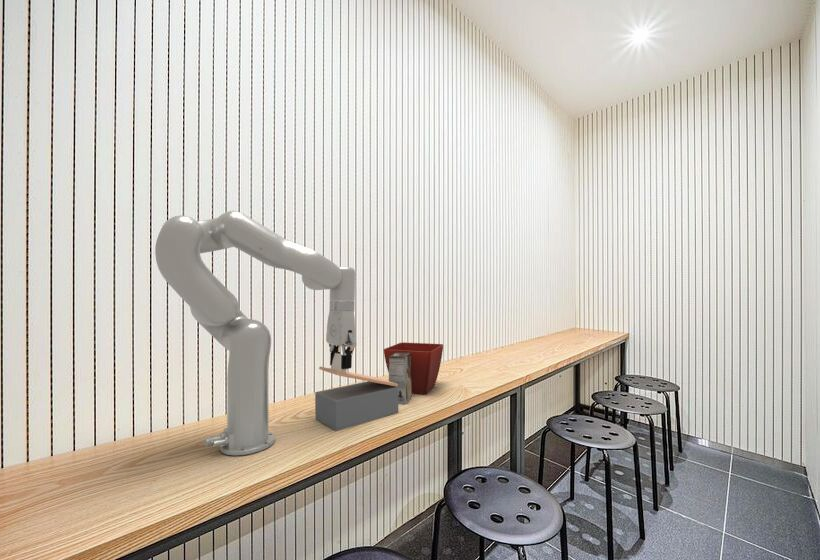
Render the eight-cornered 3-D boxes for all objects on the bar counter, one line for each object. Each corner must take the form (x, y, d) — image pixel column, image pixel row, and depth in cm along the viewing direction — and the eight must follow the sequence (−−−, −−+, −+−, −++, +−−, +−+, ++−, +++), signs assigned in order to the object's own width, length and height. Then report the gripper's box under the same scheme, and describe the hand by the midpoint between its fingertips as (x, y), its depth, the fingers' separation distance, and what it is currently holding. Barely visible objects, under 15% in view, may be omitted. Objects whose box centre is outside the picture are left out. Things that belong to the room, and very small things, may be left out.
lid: (338, 375, 99) (344, 355, 100) (318, 369, 108) (324, 350, 110) (397, 386, 112) (401, 368, 114) (375, 379, 122) (379, 363, 123)
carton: (336, 431, 97) (336, 401, 98) (315, 418, 107) (315, 392, 108) (398, 412, 112) (398, 387, 112) (374, 403, 121) (374, 379, 122)
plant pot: (431, 398, 127) (430, 351, 127) (383, 393, 133) (382, 349, 134) (444, 385, 144) (444, 343, 145) (401, 381, 151) (400, 342, 152)
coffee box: (395, 395, 130) (394, 352, 131) (412, 396, 129) (411, 352, 130) (388, 403, 121) (388, 356, 122) (406, 404, 120) (406, 356, 121)
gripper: (317, 306, 111) (316, 364, 110) (345, 307, 98) (344, 373, 97) (339, 306, 116) (337, 361, 115) (368, 307, 103) (366, 370, 102)
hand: (340, 366), depth 106 cm, fingers closed on lid, 6 cm apart
